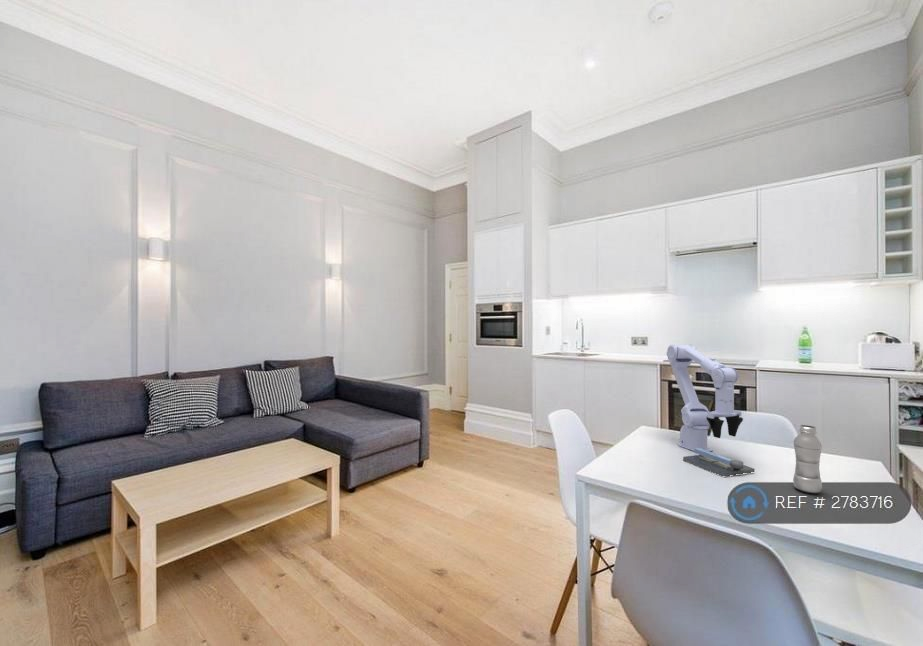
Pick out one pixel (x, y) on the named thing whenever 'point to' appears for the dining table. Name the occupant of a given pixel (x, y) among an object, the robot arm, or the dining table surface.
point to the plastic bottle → (807, 460)
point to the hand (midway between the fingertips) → (724, 436)
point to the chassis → (716, 466)
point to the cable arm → (719, 458)
